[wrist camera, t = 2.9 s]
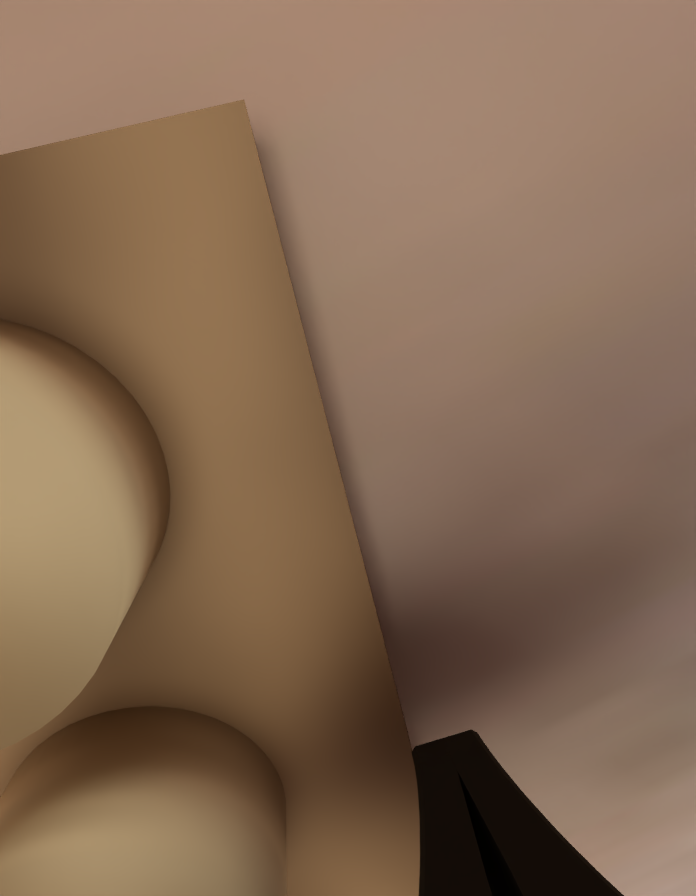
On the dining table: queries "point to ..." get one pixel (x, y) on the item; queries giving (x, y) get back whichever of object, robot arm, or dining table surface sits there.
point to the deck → (222, 478)
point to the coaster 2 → (144, 811)
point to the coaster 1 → (68, 520)
